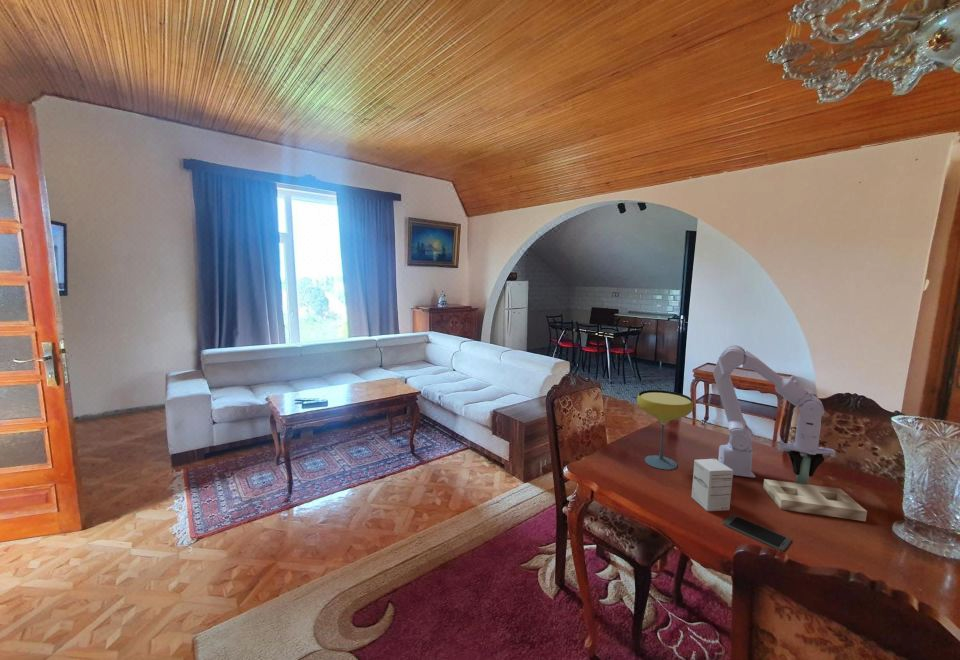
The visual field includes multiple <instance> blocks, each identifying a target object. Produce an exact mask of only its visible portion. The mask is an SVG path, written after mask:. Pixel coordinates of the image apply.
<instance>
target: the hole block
mask: <svg viewBox="0 0 960 660" xmlns="http://www.w3.org/2000/svg"><path fill="white" fill-rule="evenodd" d="M762 488H763V489H764V490H765V492H766V493H767V494H768V496H769V497H770V498H771V499H772V501H774V504H776V505H777V507H778V508H779V509H780V510H785V511H791V512H798V513H805V514H812V515H813V514H814V515H819V516H827V517H833V518H841V519H846V520H854V521H860V522H866V521H867V515H868V510H866V509H865V508H864V507H863V506H861V505H860V504H859V503H858V502H857V501H856V500H854V499H853V498H852V497H851V496H850V495H849V494H848V493H846V492H845V491H844V490H843V489H841V488H837V487H830V486H821V485H816V484H815V485H814V484H808V485H807V484H799V483H797V482H792V481H791V482H789V481H782V480H775V479H768V478H767V479H766V478H764V479H763V487H762Z"/></svg>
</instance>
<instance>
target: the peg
mask: <svg viewBox="0 0 960 660" xmlns="http://www.w3.org/2000/svg"><path fill="white" fill-rule="evenodd" d="M800 454H801V456H802V457H803V459H802V462H801V465H800V473H799V475H796V474H795V475H796V476H795V483H799V484H807V485H809V478H810V476H809V471H810V462H811V457H810V456H807V454H804V453H800Z"/></svg>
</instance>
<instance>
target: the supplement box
mask: <svg viewBox="0 0 960 660" xmlns="http://www.w3.org/2000/svg"><path fill="white" fill-rule="evenodd" d="M692 474H693V477H692V486H691V487H692V488H691V499H693V501H695V502H697V503H698V504H699V505H700V506H701V507H702V508H703V509H704V510H705V511H706V512H717V511H718V512H719V511H730V508H731V507H730V506H731V497H732V496H731V495H732V490H733V489H732V486H733V477H734V475H733V470H732V469H730V468H729V467H727V466H726V465H724V464H723V463H721V462H720V461H718V459H717V458H706V459H705V458H702V459H701V458H700V459H694V462H693V473H692Z"/></svg>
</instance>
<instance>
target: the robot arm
mask: <svg viewBox="0 0 960 660" xmlns="http://www.w3.org/2000/svg"><path fill="white" fill-rule="evenodd" d="M741 365H742V367H741V368H742V369H747V370H752V371H754V372H756V373H757V374H758V375H760V376H761V377H763V378H764V379H766V380H767V381H768V382H769V383H770V384H772V385H774V389H775V390H774V391H775V392H776V393H777V394H778V395H780V396H781V397H783V398H784V399H785V400H787V401H788V402H789V403H790V404H792V405H793V406H795V407H798V409H799V412H798V416H797V418H796V419H797V421H796V429H795V438H794V443H793V442H792V443H791V442H790V443H789V442H788V443H784V442H783V443H782V442H781V443H780V442H777V447H776V448H777V449H778V451H779V452H787V454H788V456H789V458H790V462H791V465H792V473H794V475H799V473H800V465H801V462H802V459H803V457H802V456H801V454H806V455H807V456H810V457H811V462H810V471H809V477H811V478H812V477H813V475H814V474H815V473H816V471H817V470H818V467H819V466H820V465H821V464H822V463H824V462H825V457H824V456H827V457H828V456H829V457H832V458H835V457H836V450H834V449H832V448H829V447H828V448H827V447H822V446H819V443H820V436H821V427H822V422H821V421H822V416H824V414H825V412H826V411H825V408H824V405H823V402H822V401H821V399H820V398H818V396H817V395H814V393H812V391H807V390H806V389H804V388H803V387H802V386H800V382H799V381H798V380H793V379H791V378H783V377H782V376H781V375H780V374H778V373H776V372H775V370H773V369H772V368H770V367H769V366H768V365H767V364H766V363H764V362H763V361H762V360H761V359H760V358H758V357H757V356H755V355H754V354H753V353H751V352H749V351H748V350H745V348H743V347H742V346H740V345H737V344H736V345H735V344H733V345H730V346H728V347H727V348H725V350H723V351H722V353H720V356H719V357H718V359H717V362H716V364H715V366H714V369H713V370H712V374H713V378H714V380H715V381H714V382H715V384H716V387H717V391H718V395H719V397H720V400H721V403H722V407H723V409H724V414H725V416H726V419H727V424H728V430H729V434H730V435H729V439H728V442H727V444H720V445H719V447H718V459H717V460H718V461H720V462H721V463H723V464H724V465H726V466H727V467H729V468H730V469H732V470H733V476H736V477H737V476H738V477H746V478H752V479H753V478H756V476H757V475H755V474H754V472H753V471H752V463H753V455H754V453H753V451H754V447H753V446H752V445H753V442H752V441H753V436H754V434H753V433H754V432H753V431H752V429H751V428H750V427H749V425H748V424H747V421H746V420H745V418H744V415H743V413H742V409H741V405H740V403H739V400H738V396H737V392H736V390H735V387H734V384H733V380H732V377H731V374H732V373H733V371H734V370H735V369H737V368H739V367H740V366H741Z"/></svg>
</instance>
